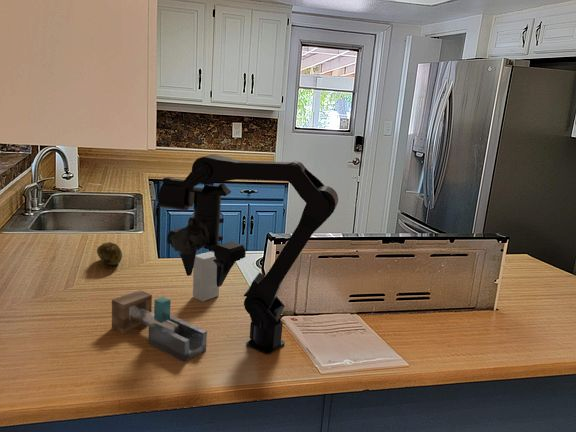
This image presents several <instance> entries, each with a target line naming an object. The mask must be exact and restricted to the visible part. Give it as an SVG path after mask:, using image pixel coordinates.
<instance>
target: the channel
mask: <svg viewBox="0 0 576 432" xmlns="http://www.w3.org/2000/svg"><path fill="white" fill-rule="evenodd" d="M168 320H169V321H171V322H174V323H176V324H178V325H179V327H180V330H179V333H178V334H176V333H174V332H171V331H169V330H167V329H165V328H163V327H161V326H158V325H156V324H154V323H152V324H150V325H149V327H148V340H147V341H148V345H150V346H152V347H154V348H156V349H158V350H160V351H162V352H164V353H166V354H167V355H170V356H172V357H173V358H176V359H178V360H180V361H182V362H184V363H185V362H187V361H189V360H190V359H192V358H195V357H196V356H199V355H200V354H201V353H204V352H205V351H207V342H208V341H207V338H208V331H207V330H205V329H202V328H200V327H198V326H196V325H193V324H192V323H190V322H187V321H184V320H183V319H180V318H178V317H175V316H174V315H170V319H168Z"/></svg>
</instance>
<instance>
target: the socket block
mask: <svg viewBox="0 0 576 432" xmlns="http://www.w3.org/2000/svg"><path fill="white" fill-rule="evenodd" d="M152 298H153V295H152V294H151V293H149V292H146V291H144V290H141V289H140V290H137V291H134V292H131V293H128V294H125V295H122V296H119V297H116V298H112V299H111V329H113V330H115V331H117V332H119V333H121V334H122V335H123V334H126V333H128V332H130V331H134V330H136V329H139V328H140V327H143V326H145V325H144V324H142V323H140V322H138V321H136V320H134V319H131V318H129V307H132V306H134V305H136V306H138V307H140V308H142V309H145V310H147V311H149V312H151V313H152V307H153V306H152V303H153V301H152V300H153V299H152Z"/></svg>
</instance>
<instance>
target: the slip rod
mask: <svg viewBox="0 0 576 432" xmlns="http://www.w3.org/2000/svg"><path fill="white" fill-rule="evenodd" d="M171 300H172V299H170V298H168V297H165V296H161V297H158V298H155V299H154V301H153V302H154V307H153V310H154V311H153V312H152V311H151V312H149V311H147V310H145V309H142V308H140V307H138V306H136V305H134V306H132V307H129V318H131V319H134V320H136V321H138V322H140V323H142V324H144V325H143V326H147V328H149V325H150V324H152V323H154V324H156V325H158V326H161V327H163V328H165V329H167V330H169V331H171V332H174V333H176V334H178V333H179V330H180V327H179V325H178V324H176V323H174V322H171V321H169V320H168V319H170V316H171V302H172V301H171Z"/></svg>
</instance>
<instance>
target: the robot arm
mask: <svg viewBox="0 0 576 432" xmlns="http://www.w3.org/2000/svg"><path fill="white" fill-rule="evenodd" d="M236 180H243V181H266V182H267V181H268V182H270V181H271V182H288V183H290V185H291V186H292V187H293V189H294V190H295V191H296V193H297V194H298V195H299V197H300V198H301V200H303V201H304V202H305V206H304V208H303V210H302V214H301V217H300V219H299V222H298V225H297V226H296V227H295V229H294V231H293V232H292V234H291V235H290V237H289V239H288V240H287V242H286V243H285V245H284V246H283V248H282V249H281V252H280V253H279V254H278V256H277V258H276V259H275V261H274V263H273V264H272V265H271V267H270V269H269V270H268V272H266V273H265V274H263V273H261V272H260V271H259V272H258V274H257V275H256V276H255V278H254V279H253V280H252V282H251V285H250V286H249V287H248V289H247V290H246V292H244V294H243V297H244V301H243V306H244V309H245V312H247V313H248V314H249V318H250V321H251V322H250V325H249V326H250V328H249V340H248V341H245V342H246V343H245V345H246V346H249V347H250V348H253V349H255V350H258V351H260V352H262V353H264V354H266V355H269V354H271V353H273V352H275V351H277V350H278V349H280V348H281V347H283V346H285V343H286V341H284V340H282V337H283V324H284V323H283V322H284V321H283V320H281V318H280V317H281V315H282V313H283V311H284V309H285V304H284V303H283V302H282V301H281V299H279V297H278V294H279V292H280V289H281V286H282V283H283V280H284V279H285V277H286V275H288V273H289V271H290V269H291V268H292V266H293V265H294V263H295V262H296V260H297V259H298V257H299V256H300V254H301V252H302V251H303V249H304V248H305V246H306V245H307V243H308V242H309V240H310V239H311V237H312V235H314V233H315V232H316V231H317V230H318V229H319V228H320V227H321V226H322V225H323V224H324V223H325V222H326V221H327V220H328V219H329V218H330V217H331V216H332V214H333V213H334V211H335V210H336V207H337V205H338V203H339V196H338V193H337V192H336V190H335V189H334V188H333V187H331V186H329V185H325V184H324V183H323V182H322V181H321V180H320V179H319V178H318V177H317V176H316V175H314V174H313V173H312V172H311V171H309V170H308V168H307V167H306V166H305V165H304V164H303V163H302V162H301V161H297V160H294V161H264V160H262V161H259V160H258V161H255V160H254V161H253V160H238V159H234V158H231V157H228V156H225V155H224V156H223V155H218V154H208V155H204V156H201V157H198V158H196V159H195V160H194V161H193V163H192V167H191V172H189V174H188V175H187V176H186V177H185V179H180V178H174V177H170V176H165V177H164V178H162V184H161V185H160V187H159V191H158V194H157V203H158V207H159V208H163V209H169V210H177V211H185V212H186V211H188V210H189V209H190V208H192V207H193V216H190V217H189V219H188V220H187V221H188V222H187V226H185V227H182V228H178V229H173V230H170V231H169V232H168V234H167V236H166V237H167V238H166V239H167V240H166V243H167V244H168V245H170V247H171V248H172V249H173V250H174V251H175V252H178V254H179V256H180V258H181V261H182V264H183V267H184V270H185V273H186V276H188V277H189V276H192V273H193V269H194V262H195V256H196V255H197V251H199V250H201V249H202V248H203V249H206V250H209V251H211V252H213V253H214V256H215V257H216V259H215V260H213V261H214V262H215V264H216V265H217V279H216V281H217V287H219V288H220V287H221V286H222V285H223V283H224V281H225V280H226V278H227V277H228V274H229V273H230V271H231V269H232V267H233V266H234V265H235V263H236V262H237V261H241V260H242V259H244V258H246V252H247V251H246V250H247V249H246V247H245V246H244V244H241V243H238V242H234V241H228V242H224V243H220V242H221V241H223V240H224V236H223V235H222V234H220V227H221V226H220V224H222V223H224V222H225V221H224V219H225V218H224V217H221V208H222V207H221V206H222V205H221V203H222V202H221V200H222V197H226V196H228V195H230V194H231V193H232V191H231V190H230V189H229V187H227V186H226V183H225V182H229V181H236ZM218 183H220V184H219V185H212V184H218ZM199 185H203V187H197V186H199Z"/></svg>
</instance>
